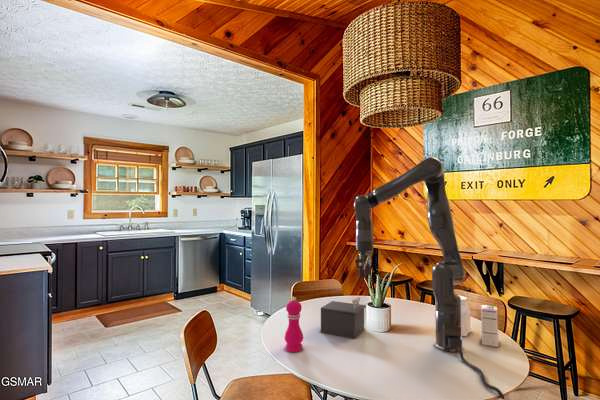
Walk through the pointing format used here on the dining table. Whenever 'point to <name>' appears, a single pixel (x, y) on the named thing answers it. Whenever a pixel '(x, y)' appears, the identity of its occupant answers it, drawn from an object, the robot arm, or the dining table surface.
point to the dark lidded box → (342, 323)
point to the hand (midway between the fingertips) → (365, 276)
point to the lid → (344, 306)
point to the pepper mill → (293, 327)
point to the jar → (465, 317)
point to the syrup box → (489, 325)
